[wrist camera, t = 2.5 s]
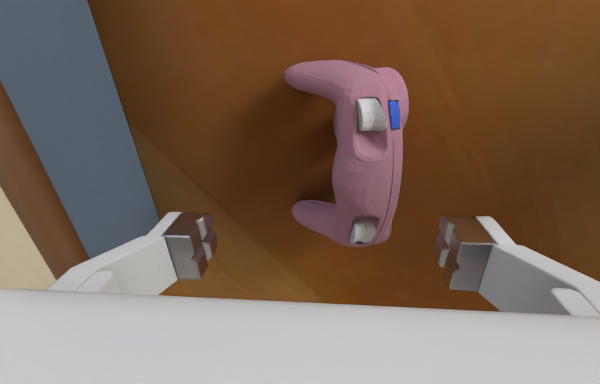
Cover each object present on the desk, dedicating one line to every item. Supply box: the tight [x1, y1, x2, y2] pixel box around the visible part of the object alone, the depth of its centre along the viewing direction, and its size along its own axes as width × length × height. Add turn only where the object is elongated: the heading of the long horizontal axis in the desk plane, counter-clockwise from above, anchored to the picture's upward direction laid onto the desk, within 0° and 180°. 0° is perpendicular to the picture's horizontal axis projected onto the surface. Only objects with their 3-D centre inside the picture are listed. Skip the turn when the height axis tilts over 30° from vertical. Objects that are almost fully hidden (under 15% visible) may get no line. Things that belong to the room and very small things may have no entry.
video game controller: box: [284, 60, 409, 247], centre depth 16 cm, size 10×5×7 cm, turn 2°
